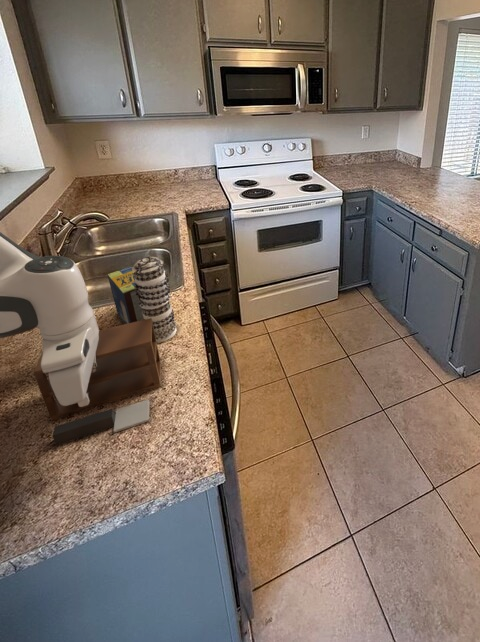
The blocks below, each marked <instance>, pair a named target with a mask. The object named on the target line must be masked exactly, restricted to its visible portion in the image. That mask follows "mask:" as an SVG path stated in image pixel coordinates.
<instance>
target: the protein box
mask: <svg viewBox="0 0 480 642" xmlns="http://www.w3.org/2000/svg"><path fill="white" fill-rule="evenodd" d="M133 266H134V265H131V266H128V267H125V268H122V269H120V270H116V271H114V272H110V273H107V279H108V283H109V286H110V290H111V295H112V299H113V302H114V307H115V310H116V313H117V316H118V318H120V321H121V322H122V323H123V325H124V324H128V323H133V322H137V321H141V320H143V310H142V308H141V307H140V305H139V303H140V302H139V301H138V297H137V296H138V295H136V291H135V287H134V286H135V284H136V282H135V274H134V271H133V270H132V267H133ZM137 289H138V287H137Z"/></svg>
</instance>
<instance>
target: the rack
mask: <svg viewBox="0 0 480 642" xmlns="http://www.w3.org/2000/svg"><path fill="white" fill-rule="evenodd" d="M42 352H43V350H42V351H41V354H40V356H39V357H38V361H37V363H36V366H35V368H34V370H33V374H34V378H35V380H36V383H37V386H38V388H39V391H40V394H41V397H42V400H43V403H44V405H45V407H46V410H47V413H48V416H49V418H50V420H51V421H54V420H57V419H60V418H63V417H67V416H70V415H73V414H77V413H79V412H82V411H87V410H89V409H92V408H96V407H100V406H102V405H105V404H109V403H112V402H115V401H119V400H122V399H124V398H128V397H131V396H135V395H138V394H141V393H144V392H148V391H152V390H154V389H157V388H161V387H162V377H161V376H162V373H161V370H162V367H161V363H162V360H161V355H160V351H159V346H158V343H157V341H156V336H155V332H154V327H153V322H152V318H149V319H145V320H141V321H137V322H133V323H128V324H124V323H123V324H121V325H120V324H119V325H117V326H111V327H107V328H103V329H99V341H98V345H97V349H96V363H97V369H96V372H92V373H91V375H90V379H89V383H88V388H87V392H86V393H88V392H89V396H90V402H89V404H88V405H86V406H83V407H79V405H78V403H75V404H72V405H68V406H63V405H61V404H60V403H59V402H58V400H57V398H56V397H55V393H54V391H53V389H52V386H51V384H50V380H49V377H47V373H44V372H43V371H42V368H41V360H42Z"/></svg>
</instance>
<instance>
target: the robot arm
mask: <svg viewBox="0 0 480 642" xmlns="http://www.w3.org/2000/svg"><path fill="white" fill-rule="evenodd" d="M95 315H96V314H95V311H94V309H93V307H92V306H91V305H90V303H89V292H88V288H87V286H86V282H85V280H84V277H83V275H82V273H81V270H80V268H79V267H78V264H76V263H75V262H74V260H72V259H71V258H70V257H67V256H63V255H45V256H39V255H37V254H34V253H32V252H30V251H28V250H27V249H25V248H23V247H22V246H20V245H19V244H18V243H16V242H15V241H14V240H12V239H11V238H9V237H7V235H5V234H4V233H2V231H0V339H4V338H8V337H13V336H17V335H20V334H23V333H27V332H29V331H32V330H35V329H36V328H37V329H38V330H39V332H40V336H41V338H42V339H41V345H42V351H43V352H42V351H41V354H42V360H41V368H42V371H43V372H44V373H46V374H48V378H49V380H50V384H51V386H52V389H53V391H54V393H55V395H54V397H55V399H56V398H57V400H58V402H59V403H60V404H61V405H63V406H68V405H72V404H75V403H78V405H79V407H83V406H86V405H88V404H89V402H90V396H89V392H88V393H86V392H87V388H88V383H89V379H90V375H91V373H92V372H96V369H97V363H96V349H97V345H98V341H99V330H100V328H99V325H98V322H97V317H96V316H95Z"/></svg>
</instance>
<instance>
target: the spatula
mask: <svg viewBox="0 0 480 642" xmlns="http://www.w3.org/2000/svg"><path fill="white" fill-rule="evenodd" d="M150 402H151V401H150V398H148V399H144V400H142V401H139V402H136V403H133V404H129V405H126V406H123V407H119V408H116V409H115V410H114V408H113V407H112V408H109V409H106V410H105V409H104V410H102V411H99V412H96V413H92V414H90V415H86V416H82V417H80V418H77V419H73V420H70V421H66V422H64V423H60V424H58V425H55V426H54V428H53V432H52V434H51V435H52V436H51V437H52V440H53V442H54V444H55V446H60V445H62V444H65V443H68V442H72V441H75V440H77V439H80V438H83V437H86V436H89V435H92V434H95V433H98V432H101V431H104V430H107V429H110V428H113V434H114V433H118V432H120V431H124V430H128V429H130V428H133V427H135V426H139V425H142V424H144V423H148V422H149V421H150V404H151V403H150Z"/></svg>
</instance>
